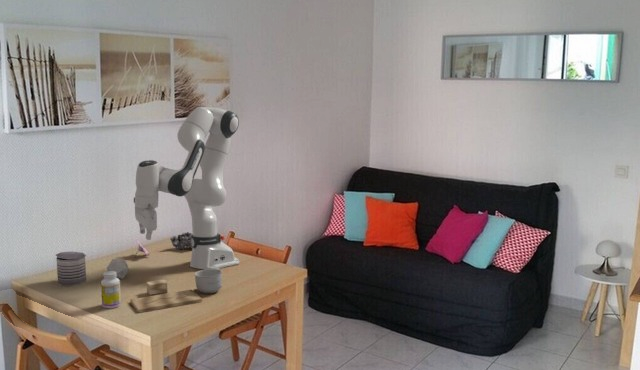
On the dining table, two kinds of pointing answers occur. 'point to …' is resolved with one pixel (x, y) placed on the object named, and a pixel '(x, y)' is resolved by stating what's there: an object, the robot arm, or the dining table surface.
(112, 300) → the supplement bottle
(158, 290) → the block
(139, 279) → the dining table surface
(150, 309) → the board
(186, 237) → the mineral specimen
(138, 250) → the lily
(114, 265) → the die
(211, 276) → the teacup
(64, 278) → the can
